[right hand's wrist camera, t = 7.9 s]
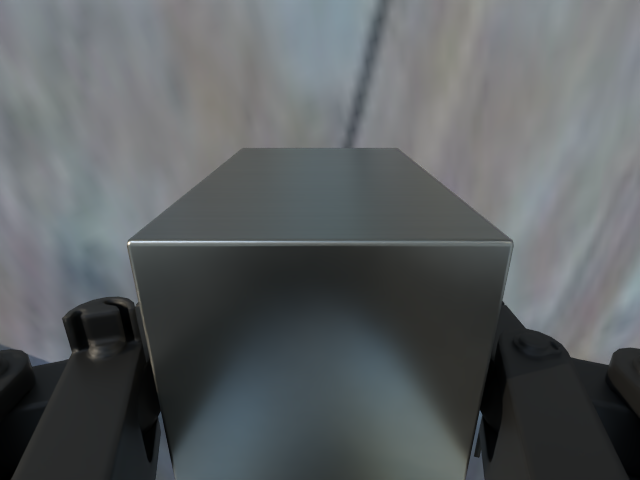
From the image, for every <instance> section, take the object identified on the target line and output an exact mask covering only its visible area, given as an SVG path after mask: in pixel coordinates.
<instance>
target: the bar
mask: <svg viewBox="0 0 640 480" xmlns="http://www.w3.org/2000/svg"><path fill="white" fill-rule="evenodd" d="M127 248H128V253H129V258H130V263H131V268H132V272H133V277H134V282H135V287H136V292H137V297H138V302H139V307H140V311H141V316H142V321H143V326H144V331H145V336H146V341H147V345H148V350H149V355H150V360H151V365H152V370H153V375H154V380H155V384H156V389H157V394H158V399H159V404H160V409H161V414H162V418H163V423H164V428H165V433H166V438H167V443H168V448H169V453H170V457H171V462H172V467H173V472H174V477H175V480H465V479H466V474H467V469H468V464H469V459H470V455H471V450H472V445H473V440H474V435H475V430H476V426H477V421H478V416H479V411H480V406H481V401H482V396H483V392H484V387H485V382H486V377H487V372H488V367H489V362H490V358H491V353H492V348H493V343H494V338H495V333H496V329H497V324H498V319H499V314H500V309H501V304H502V299H503V295H504V290H505V285H506V280H507V275H508V270H509V266H510V261H511V256H512V251H513V241H512V240H511V239H510V238H509V237H508V236H506V235H505V234H504V233H503V232H501V231H500V230H499V229H498V228H497V227H495V226H494V225H493V224H492V223H490V222H489V221H488V220H487V219H485V218H484V217H483V216H482V215H480V214H479V213H478V212H477V211H475V210H474V209H473V208H472V207H470V206H469V205H468V204H467V203H465V202H464V201H463V200H462V199H460V198H459V197H458V196H457V195H455V194H454V193H453V192H452V191H450V190H449V189H448V188H447V187H445V186H444V185H443V184H442V183H440V182H439V181H438V180H437V179H435V178H434V177H433V176H432V175H430V174H429V173H428V172H427V171H425V170H424V169H423V168H422V167H420V166H419V165H418V164H417V163H415V162H414V161H413V160H412V159H410V158H409V157H408V156H407V155H406V154H404V153H403V152H402V151H401V150H399V149H398V148H243V149H241V150H240V151H238V152H237V153H236V154H235V155H233V156H232V157H231V158H230V159H229V160H227V161H226V162H225V163H224V164H222V165H221V166H220V167H219V168H217V169H216V170H215V171H214V172H212V173H211V174H210V175H209V176H207V177H206V178H205V179H204V180H202V181H201V182H200V183H199V184H197V185H196V186H195V187H194V188H192V189H191V190H190V191H189V192H187V193H186V194H185V195H184V196H183V197H181V198H180V199H179V200H178V201H176V202H175V203H174V204H173V205H171V206H170V207H169V208H168V209H166V210H165V211H164V212H163V213H161V214H160V215H159V216H158V217H156V218H155V219H154V220H153V221H151V222H150V223H149V224H148V225H146V226H145V227H144V228H143V229H142V230H140V231H139V232H138V233H137V234H135V235H134V236H133V237H132V238H130V239H129V240H128V243H127Z"/></svg>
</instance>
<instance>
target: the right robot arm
mask: <svg viewBox="0 0 640 480" xmlns="http://www.w3.org/2000/svg"><path fill="white" fill-rule="evenodd" d="M62 320H63V323H64V327H65V330H66V333H67V337H68V340H69V343H70V347H71V350H72V354H71V356H70V358H69V359H68V360H64V361H59V362H54V363H49V364H44V365H39V366H34V367H32V366H31V363H30V360H29V357H28V355H27V354H26V353H24V352H23V351H21V350H13V349H9V350H2V351H0V480H155V479H156V470H157V461H158V452H159V444H160V435H161V430H160V424H159V419H158V415H159V413H160V411H161V409H160V404H159V399H158V394H157V389H156V384H155V380H154V375H153V370H152V365H151V360H150V355H149V350H148V345H147V341H146V336H145V331H144V326H143V321H142V316H141V311H140V307H139V302H138V303H137V304H136V307H135V306H134V302H132V301H131V300H130V299H128V298H123V297H105V298H100V299H96V300H92V301H89V302H86V303H84V304H81V305H79V306H77V307H75V308H74V309H72V310H70V311H69V312H68V313H67V314H66V315H65V316H64V317H63V318H62ZM480 411H481V413H482V419H481V424H480V429H479V434H478V438H477V443H476V448H475V454H474V457H478V458H479V457H480V452H481V451H482V460H483V469H484V478H485V480H640V349H637V348H622V349H618V350H617V351H616V352H614V353H613V355H612V358H611V361H610V364H609V365H605V364H600V363H595V362H590V361H585V360H580V359H575V358H571V357H570V355H569V353H568V352H567V350H566V349H565V348H564V347H563V345H562V344H560V343H559V342H558V341H556V340H555V339H553V338H552V337H550V336H547V335H545V334H543V333H541V332H538V331H534V330H529V329H526V328H525V327H524V326H523V325H522V323H521V322H520V321H519V320H518V319H517V318H516V316H515V315H514V314H513V313H512V312H511V310H510V309H509V308H508V307H507V306H506V305H504V302H503V301H502V304H501V309H500V314H499V319H498V324H497V329H496V333H495V338H494V343H493V348H492V353H491V358H490V362H489V367H488V372H487V377H486V382H485V387H484V392H483V396H482V401H481V406H480Z"/></svg>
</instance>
